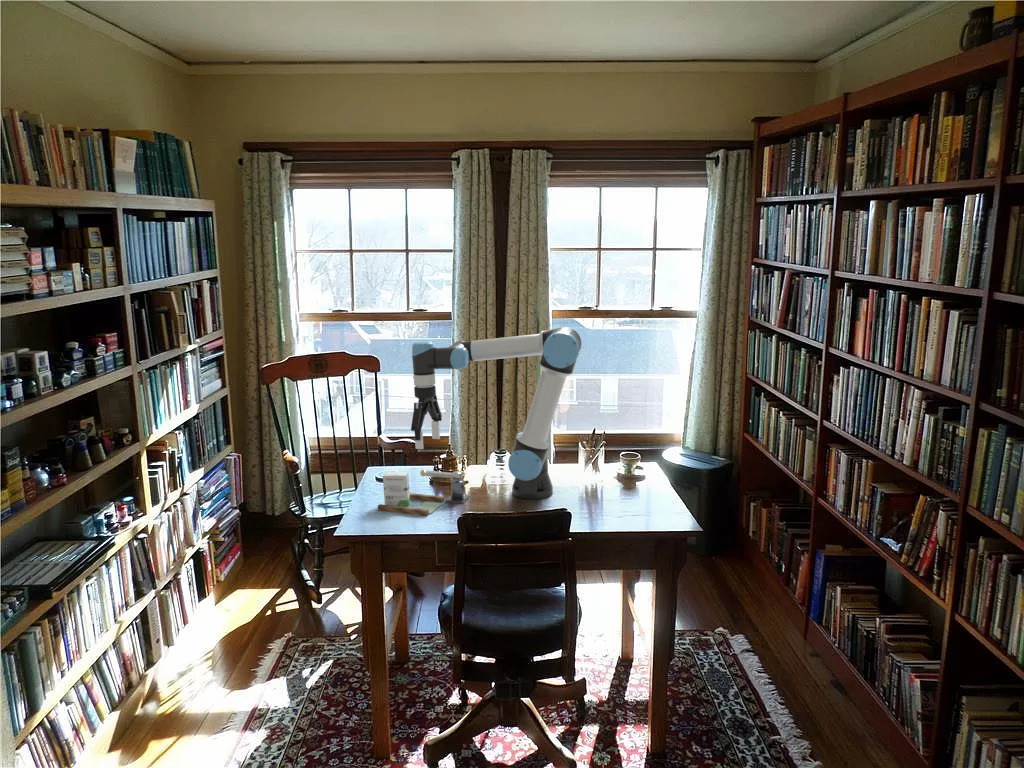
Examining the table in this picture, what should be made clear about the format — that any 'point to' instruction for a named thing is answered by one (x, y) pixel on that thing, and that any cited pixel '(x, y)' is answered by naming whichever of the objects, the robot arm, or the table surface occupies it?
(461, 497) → the winch drum
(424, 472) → the crank
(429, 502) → the front pad
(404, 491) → the ink box
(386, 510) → the rails
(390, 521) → the table surface
